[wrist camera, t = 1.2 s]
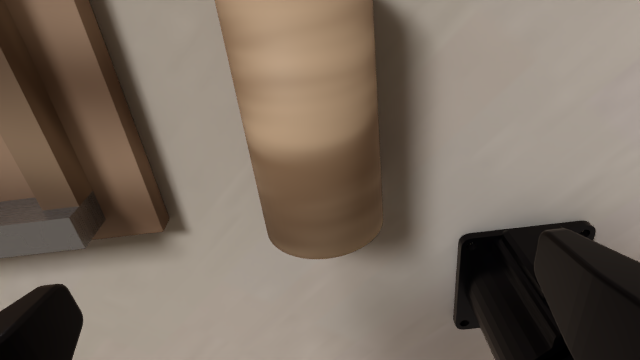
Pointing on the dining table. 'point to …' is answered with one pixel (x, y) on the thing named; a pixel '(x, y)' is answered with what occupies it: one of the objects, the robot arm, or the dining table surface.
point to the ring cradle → (66, 135)
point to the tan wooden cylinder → (309, 118)
